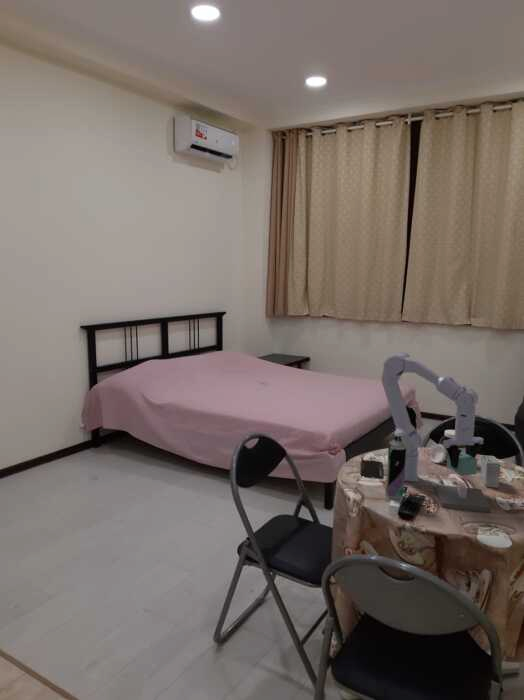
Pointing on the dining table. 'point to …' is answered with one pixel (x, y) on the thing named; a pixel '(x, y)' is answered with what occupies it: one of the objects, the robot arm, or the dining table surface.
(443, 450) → the spread jar
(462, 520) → the dining table surface
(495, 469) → the medicine box
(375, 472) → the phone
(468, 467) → the keyed cap
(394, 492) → the spray can
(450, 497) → the key board
